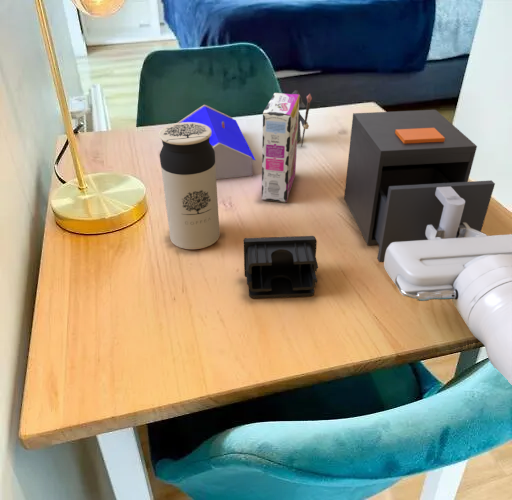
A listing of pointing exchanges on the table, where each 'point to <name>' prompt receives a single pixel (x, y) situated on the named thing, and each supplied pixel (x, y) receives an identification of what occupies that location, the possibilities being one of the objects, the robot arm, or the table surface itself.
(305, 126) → the wizard figurine
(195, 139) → the travel mug
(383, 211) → the basket
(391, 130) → the fryer housing
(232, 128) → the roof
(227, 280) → the table surface
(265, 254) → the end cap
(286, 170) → the candy bar box
